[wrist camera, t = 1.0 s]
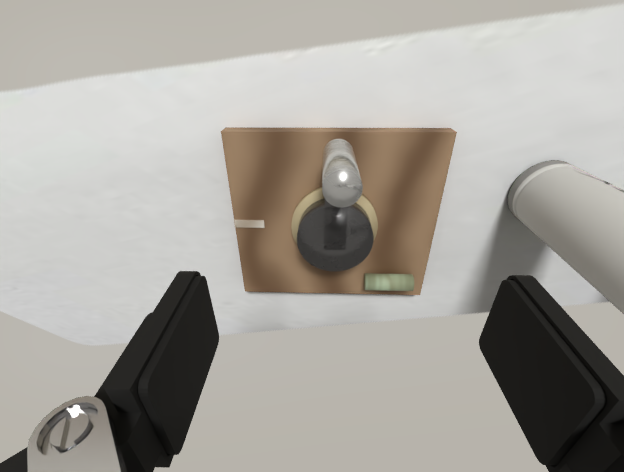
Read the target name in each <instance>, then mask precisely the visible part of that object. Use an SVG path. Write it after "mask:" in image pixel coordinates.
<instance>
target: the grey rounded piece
mask: <svg viewBox="0 0 624 472" xmlns="http://www.w3.org/2000/svg"><path fill="white" fill-rule="evenodd" d="M362 191H363V185H362V181H361V177H360V174H359V170H358V166H357V162H356V159H355V155H354V151H353V148H352V146H351V144H350V143H349V142H347V141H346V140H343V139H334V140H332V141H330V142H329V143H328V144H327V145H326V146H325V148H324V150H323V174H322V192H323V196H324V198H323V199H320V200H318V201H316V202H314V203H313V204H311V205H310V206H309V207H308V208H307V209H306V210H305V211H304V213H303V214H302V216H301V218H300V221H299V226H298V232H297V246H298V249H299V251H300V253H301V255H302V256H303V258H304V259H305V260H306V261H307V262H308V263H310V264H311V265H313V266H314V267H316V268H319V269H322V270H326V271H344V270H348V269H351V268H353V267H355V266H357V265H358V264H360V263H361V262H362V261H364V259H365V258H366V257H367V256H368V255H369V253H370V251H371V249H372V246H373V240H374V236H373V231H372V227H371V223H370V219H369V217H368V214H367V213H366V211H365V210H364V209H363V208H362V207H361V206H360V205H359V204H357V203H356V202H357V201H358V200H359V198H360V197H361V195H362Z"/></svg>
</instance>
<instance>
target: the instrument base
mask: <svg viewBox="0 0 624 472" xmlns="http://www.w3.org/2000/svg"><path fill="white" fill-rule="evenodd" d="M456 133H457V132H455V131H454V130H452V129H451V128H225V129H224V130H222V131H221V134H222V141H223V148H224V154H225V161H226V168H227V174H228V181H229V188H230V194H231V201H232V207H233V214H234V224H235V227H236V234H237V241H238V247H239V254H240V261H241V267H242V274H243V281H244V287H245V291H249V292H299V293H349V294H399V295H420V292H421V288H422V284H423V279H424V275H425V270H426V266H427V261H428V257H429V253H430V248H431V244H432V239H433V235H434V230H435V226H436V222H437V217H438V213H439V208H440V204H441V199H442V195H443V191H444V186H445V182H446V177H447V173H448V168H449V164H450V160H451V155H452V151H453V146H454V142H455V137H456ZM334 139H343V140H346V141H347V142H349V143H350V144H351V146H352V148H353V151H354V155H355V159H356V162H357V166H358V170H359V174H360V177H361V181H362V185H363V191H362V195H361V197H360V198H359V200H358V201H357V202H356V203H357V204H359V205H360V206H361V207H362V208H363V209H364V210H365V211H366V213H367V214H368V217H369V219H370V223H371V227H372V231H373V236H374V240H373V246H372V249H371V251H370V253H369V255H368V256H367V257H366V258H365V259H364V261H362V262H361V263H360V264H358V265H357V266H355V267H353V268H351V269H348V270H344V271H326V270H322V269H319V268H316V267H314V266H313V265H311V264H310V263H308V262H307V261H306V260H305V259H304V258H303V256H302V255H301V253H300V251H299V249H298V246H297V232H298V226H299V221H300V218H301V216H302V214H303V213H304V211H305V210H306V209H307V208H308V207H309V206H310V205H311V204H313V203H314V202H316V201H318V200H320V199H323V198H324V196H323V192H322V174H323V150H324V148H325V146H326V145H327V144H328V143H329V142H330V141H332V140H334Z"/></svg>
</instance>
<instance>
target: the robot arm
mask: <svg viewBox="0 0 624 472" xmlns="http://www.w3.org/2000/svg"><path fill="white" fill-rule="evenodd" d="M218 342H219V333H218V329H217V324H216V320H215V316H214V311H213V307H212V302H211V298H210V294H209V289H208V285H207V281H206V278H205V276H201V275H200V273H199V272H197V271H180V272H178V274H177V275H176V277H175V278H174V280H173V281H172V283H171V284H170V286H169V288H168V289H167V291H166V292H165V294H164V296H163V297H162V299H161V300H160V302H159V303H158V305H157V307H156V308H155V310H154V311H153V313H150V314H148V315H147V317H146V318H145V319H144V321H143V322H142V324H141V325H140V327H139V328H138V330H137V331H136V333H135V335H134V336H133V338H132V339H131V341H130V342H129V344H128V345H127V347H126V349H125V350H124V352H123V353H122V355H121V356H120V358H119V359H118V361H117V362H116V364H115V366H114V367H113V369H112V370H111V372H110V373H109V375H108V376H107V378H106V380H105V381H104V383H103V385H102V386H101V387H100V389H99V390H98V392H97V393H96V395H95V396H94V397H91V396H84V397H78V398H75V399H72V400H70V401H68V402H65V403H63V404H62V405H60V406H59V407H57V408H55V409H54V410H53V411H51V412H50V413H49V414H48V415H47V416H46V417H44V418H43V420H42V421H41V422H40V423H39V424H38V425H37V427H36V428H35V430H34V431H33V433H32V435H31V437H30V439H29V443H28V447H27V448H25V449H24V450H22V451H20V452H19V453H17V454H15V455H14V456H12V457H10V458H9V459H7V460H5V461H4V462H2V463H0V472H153V470H154V468H155V467H170V464H171V461H172V458H173V456H174V455H177V454H179V453H180V451H181V449H182V447H183V444H184V441H185V438H186V435H187V432H188V429H189V427H190V424H191V421H192V418H193V415H194V412H195V409H196V406H197V404H198V401H199V398H200V395H201V392H202V389H203V386H204V383H205V381H206V378H207V375H208V372H209V369H210V366H211V363H212V360H213V357H214V355H215V352H216V348H217V345H218ZM479 345H480V349H481V351H482V353H483V355H484V357H485V359H486V361H487V363H488V365H489V367H490V369H491V371H492V373H493V375H494V377H495V378H496V380H497V382H498V384H499V386H500V388H501V390H502V392H503V394H504V396H505V398H506V400H507V401H508V403H509V405H510V407H511V409H512V411H513V413H514V415H515V417H516V419H517V421H518V423H519V425H520V427H521V429H522V431H523V433H524V434H525V436H526V438H527V440H528V442H529V444H530V446H531V448H532V450H533V452H534V454H535V456H536V457H537V459H538V460H539V462H540V463H542V464H543V465H546V467H547V469H548V471H549V472H624V376H623V375H622V373H621V372H620V371H619V370H618V369H617V368H616V367H615V366H614V365H613V363H612V362H611V361H610V360H609V359H608V358H607V357H606V356H605V355H604V354H603V352H602V351H601V350H600V349H599V348H598V347H597V346H596V345H595V344H594V343H593V341H592V340H591V339H590V338H589V337H588V336H587V335H586V334H585V333H584V332H583V331H582V330H581V328H580V327H579V326H578V325H577V324H576V323H575V322H574V321H573V319H572V318H571V317H569V315H568V314H567V313H566V312H565V311H564V310H563V309H562V307H561V306H560V305H559V304H558V303H557V302H556V301H555V300H554V299H553V298H552V296H551V295H550V294H549V293H548V292H547V291H546V290H545V289H544V288H543V287H542V285H541V284H540V283H539V282H538V281H537V280H536V279H535V278H534V277H533V276H524V275H512V276H509V277H508V278H507V280H504V281H502V283H501V285H500V288H499V290H498V293H497V295H496V298H495V300H494V303H493V305H492V308H491V310H490V313H489V316H488V318H487V321H486V323H485V326H484V328H483V331H482V333H481V336H480V339H479Z"/></svg>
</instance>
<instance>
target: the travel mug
mask: <svg viewBox="0 0 624 472" xmlns="http://www.w3.org/2000/svg"><path fill="white" fill-rule="evenodd" d="M508 206H509V209H510V211H511V212H512V214H513V215H514V216H515V217H517V218H518V219H519V220H520V221H521V222H522V223H523V224H524V225H525V226H527V227H528V228H529V229H530V230H531V231H532V232H533V233H534V234H535V235H537V236H538V237H539V238H540V239H541V240H542V241H543V242H544V243H545V244H547V245H548V246H549V247H550V248H551V249H552V250H553V251H554V252H555V253H557V254H558V255H559V256H560V257H561V258H562V259H563V260H564V261H565V262H567V263H568V264H569V265H570V266H571V267H572V268H573V269H574V270H575V271H577V272H578V273H579V274H580V275H581V276H582V277H583V278H584V279H585V280H587V281H588V282H589V283H590V284H591V285H592V286H593V287H594V288H595V289H597V290H598V291H599V292H600V293H601V294H602V295H603V296H604V297H605V298H606V299H608V300H609V301H610V302H611V303H612V304H613V305H614V306H615V307H617V308H618V309H619V310H620V311H621V312H622V313H623V314H624V190H622V189H620V188H618V187H616V186H614V185H612V184H610V183H608V182H606V181H603V180H601V179H599V178H597V177H595V176H593V175H591V174H589V173H587V172H585V171H583V170H581V169H579V168H577V167H575V166H573V165H571V164H568V163H566V162H564V161H559V160H551V161H545V162H542V163H539V164H536V165H534V166H532V167H530V168H529V169H527V170H526V171H524V172H523V173H522V174H521V175H520V176H519V177H518V178H517V179H516V180H515V182H514V183H513V185H512V187H511V188H510V191H509V194H508Z"/></svg>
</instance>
